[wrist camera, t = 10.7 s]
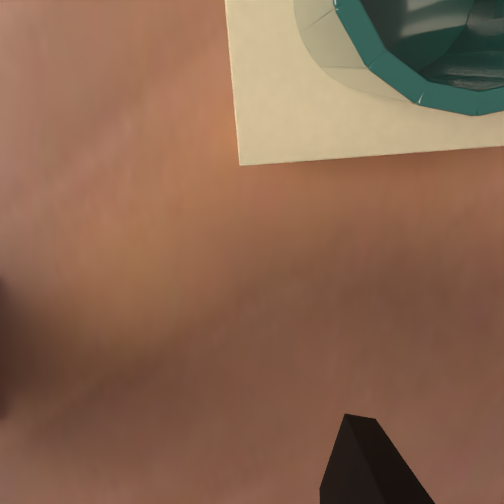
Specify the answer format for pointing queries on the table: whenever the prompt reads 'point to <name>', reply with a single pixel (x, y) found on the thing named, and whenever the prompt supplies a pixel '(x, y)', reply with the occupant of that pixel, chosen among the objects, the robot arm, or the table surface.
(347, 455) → the robot arm
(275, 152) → the block
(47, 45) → the table surface
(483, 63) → the cup
